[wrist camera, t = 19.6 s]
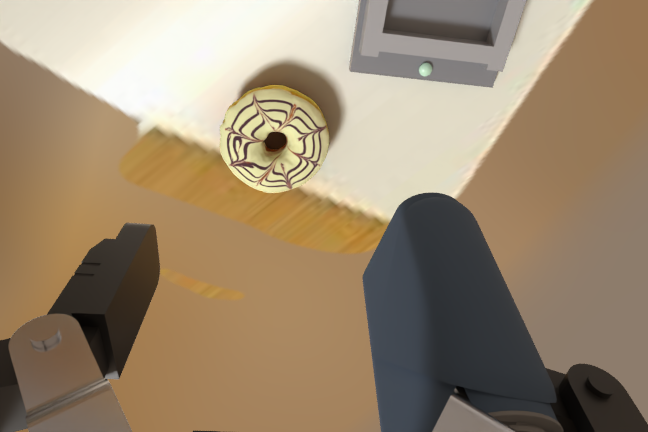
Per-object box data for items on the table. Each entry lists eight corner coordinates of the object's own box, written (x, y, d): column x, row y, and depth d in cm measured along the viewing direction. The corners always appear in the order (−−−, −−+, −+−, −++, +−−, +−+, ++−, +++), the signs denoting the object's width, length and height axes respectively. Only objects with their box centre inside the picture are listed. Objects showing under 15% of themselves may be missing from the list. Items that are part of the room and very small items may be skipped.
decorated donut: (208, 158, 45) (202, 173, 42) (245, 62, 41) (241, 71, 38) (299, 194, 48) (300, 211, 45) (343, 108, 44) (347, 120, 40)
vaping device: (350, 288, 16) (402, 854, 7) (408, 176, 13) (642, 923, 4) (413, 301, 17) (539, 842, 7) (483, 195, 14) (848, 894, 4)
